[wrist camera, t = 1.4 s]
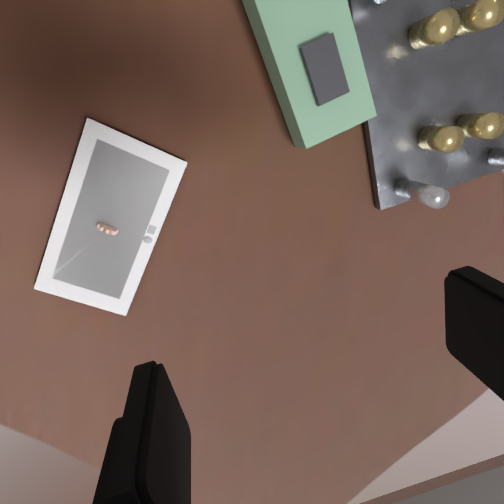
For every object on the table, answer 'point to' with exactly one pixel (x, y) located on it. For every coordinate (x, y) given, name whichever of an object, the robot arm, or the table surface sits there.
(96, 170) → the touchpad
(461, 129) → the chassis
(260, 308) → the table surface
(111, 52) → the table surface
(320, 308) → the table surface
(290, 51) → the green block
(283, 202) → the table surface
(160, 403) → the robot arm
